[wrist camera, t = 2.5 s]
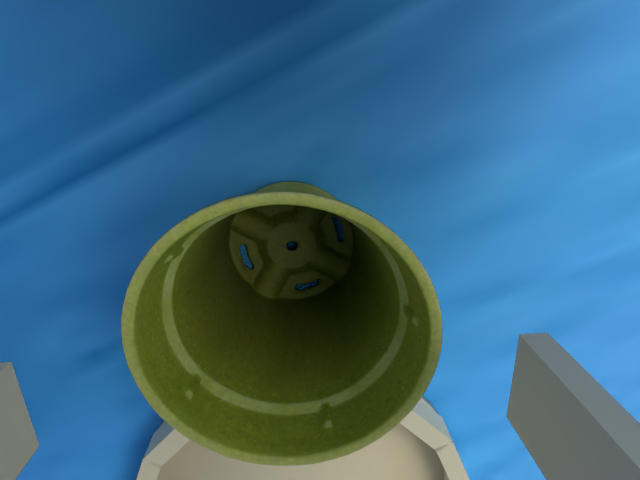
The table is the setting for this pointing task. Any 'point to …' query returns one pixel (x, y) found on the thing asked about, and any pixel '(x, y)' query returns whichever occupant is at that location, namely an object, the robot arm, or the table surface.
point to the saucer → (330, 476)
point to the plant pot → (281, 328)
